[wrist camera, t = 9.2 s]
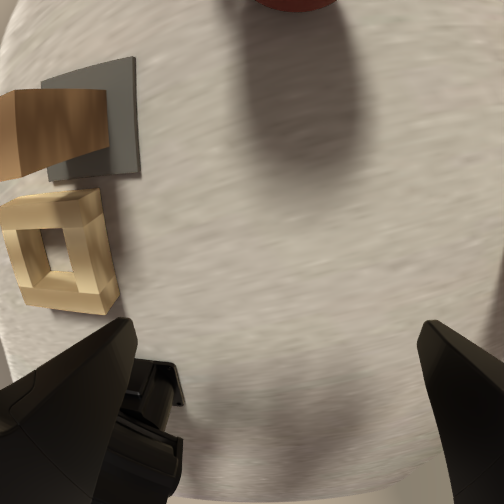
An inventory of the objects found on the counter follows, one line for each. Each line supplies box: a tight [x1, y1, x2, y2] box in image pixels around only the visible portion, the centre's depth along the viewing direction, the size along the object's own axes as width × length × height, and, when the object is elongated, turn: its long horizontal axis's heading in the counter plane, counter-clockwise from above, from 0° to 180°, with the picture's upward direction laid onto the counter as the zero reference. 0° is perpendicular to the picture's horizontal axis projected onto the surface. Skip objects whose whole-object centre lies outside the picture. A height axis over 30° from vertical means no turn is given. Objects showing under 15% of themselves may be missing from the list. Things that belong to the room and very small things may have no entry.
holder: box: [0, 188, 120, 315], centre depth 21 cm, size 9×9×3 cm
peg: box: [0, 89, 109, 182], centre depth 14 cm, size 4×4×9 cm
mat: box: [41, 56, 141, 182], centre depth 18 cm, size 8×8×1 cm
